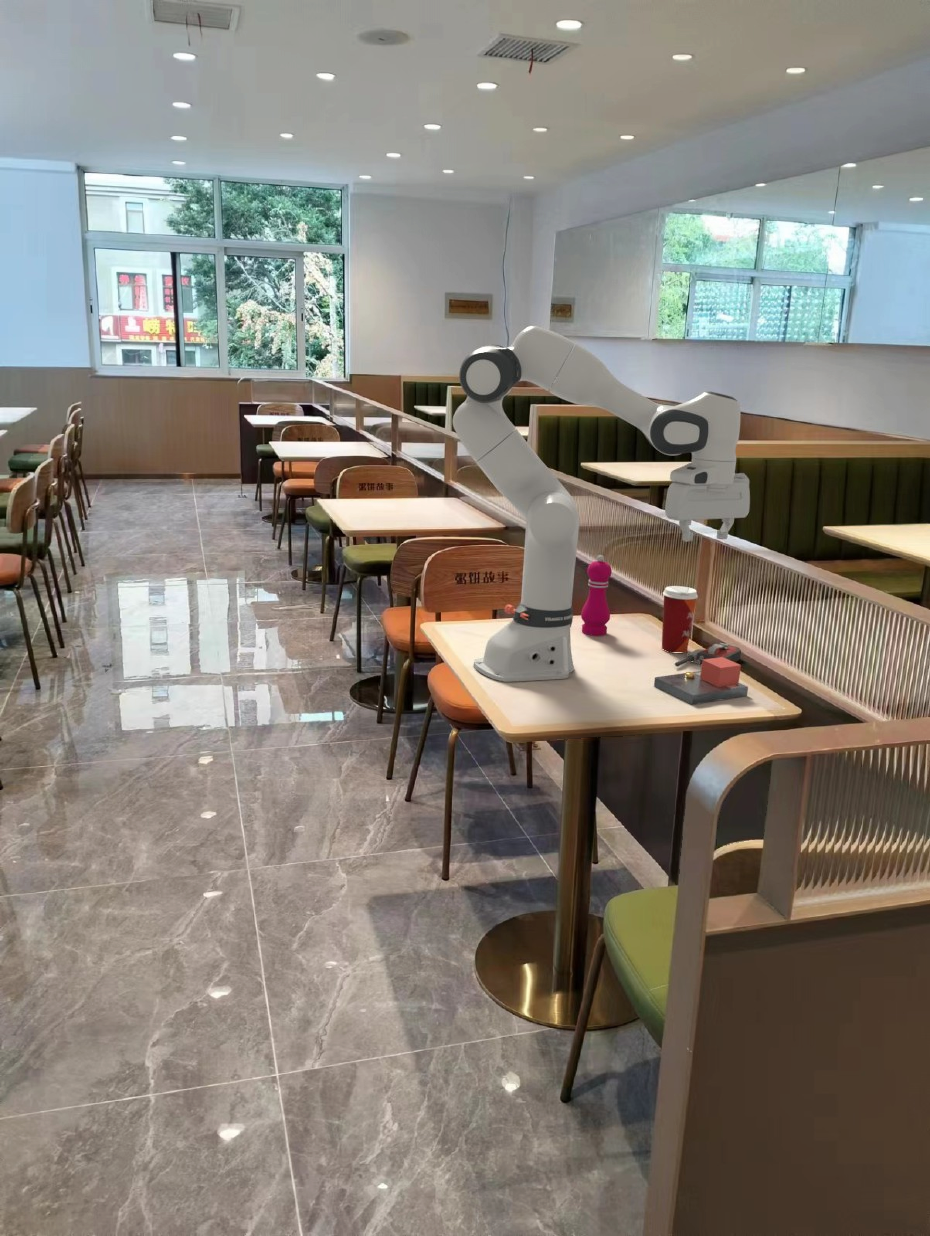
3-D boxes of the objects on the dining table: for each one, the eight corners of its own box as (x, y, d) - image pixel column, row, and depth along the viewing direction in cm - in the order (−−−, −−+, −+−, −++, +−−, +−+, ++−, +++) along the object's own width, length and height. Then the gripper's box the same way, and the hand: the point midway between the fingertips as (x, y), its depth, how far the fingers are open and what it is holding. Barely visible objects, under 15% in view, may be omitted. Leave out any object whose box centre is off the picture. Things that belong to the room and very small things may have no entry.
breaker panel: (692, 704, 194) (693, 691, 193) (654, 686, 204) (655, 673, 203) (747, 695, 201) (748, 683, 200) (707, 678, 211) (709, 666, 211)
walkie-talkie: (709, 651, 233) (670, 669, 218) (711, 634, 232) (672, 650, 217) (743, 659, 228) (706, 678, 212) (746, 642, 227) (709, 659, 211)
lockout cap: (718, 687, 199) (720, 668, 198) (699, 678, 204) (702, 659, 203) (738, 684, 202) (741, 665, 201) (719, 675, 207) (722, 657, 206)
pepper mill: (613, 632, 244) (620, 555, 239) (601, 638, 238) (608, 559, 233) (587, 627, 248) (593, 550, 243) (575, 632, 242) (581, 554, 237)
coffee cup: (694, 655, 228) (702, 594, 224) (660, 653, 228) (666, 592, 224) (687, 645, 236) (694, 586, 232) (654, 643, 236) (660, 584, 232)
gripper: (738, 471, 205) (731, 535, 208) (663, 472, 195) (657, 539, 198) (760, 474, 199) (752, 540, 203) (684, 476, 190) (677, 545, 193)
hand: (704, 540), depth 201 cm, fingers open, 8 cm apart
